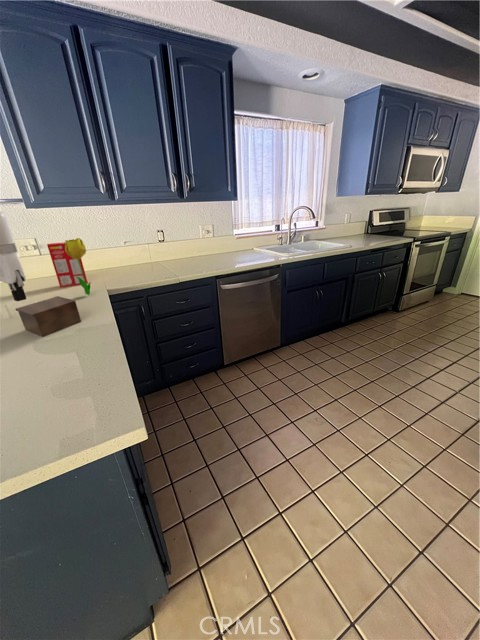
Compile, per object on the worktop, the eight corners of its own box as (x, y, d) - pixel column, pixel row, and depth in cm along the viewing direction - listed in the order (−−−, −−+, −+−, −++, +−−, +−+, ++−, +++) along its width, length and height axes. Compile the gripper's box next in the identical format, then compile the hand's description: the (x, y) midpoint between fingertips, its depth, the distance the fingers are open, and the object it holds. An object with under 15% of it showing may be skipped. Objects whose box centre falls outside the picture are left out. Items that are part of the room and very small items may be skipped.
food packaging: (87, 281, 170) (76, 241, 160) (87, 283, 166) (77, 242, 156) (60, 285, 163) (47, 243, 152) (60, 287, 159) (47, 244, 148)
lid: (32, 316, 97) (32, 314, 97) (15, 310, 103) (15, 308, 102) (75, 302, 110) (75, 300, 110) (58, 297, 115) (57, 296, 115)
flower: (90, 292, 150) (76, 237, 137) (100, 294, 146) (86, 238, 134) (76, 296, 143) (59, 239, 131) (85, 299, 140) (69, 240, 127)
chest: (42, 337, 101) (34, 316, 97) (25, 330, 107) (17, 310, 103) (81, 321, 114) (75, 302, 110) (64, 316, 119) (58, 297, 115)
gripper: (-21, 249, 91) (-2, 299, 98) (0, 252, 84) (19, 306, 92) (5, 246, 97) (22, 294, 104) (26, 249, 90) (42, 300, 98)
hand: (20, 299), depth 98 cm, fingers closed
